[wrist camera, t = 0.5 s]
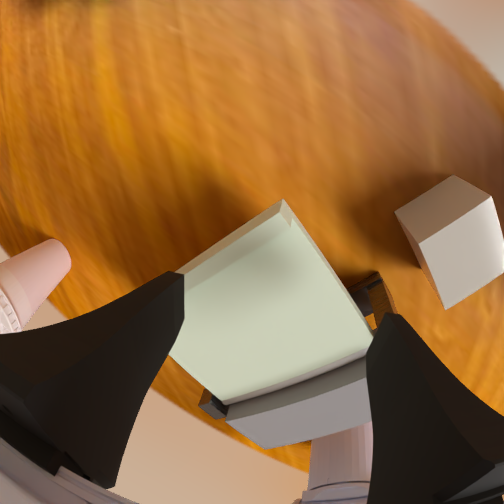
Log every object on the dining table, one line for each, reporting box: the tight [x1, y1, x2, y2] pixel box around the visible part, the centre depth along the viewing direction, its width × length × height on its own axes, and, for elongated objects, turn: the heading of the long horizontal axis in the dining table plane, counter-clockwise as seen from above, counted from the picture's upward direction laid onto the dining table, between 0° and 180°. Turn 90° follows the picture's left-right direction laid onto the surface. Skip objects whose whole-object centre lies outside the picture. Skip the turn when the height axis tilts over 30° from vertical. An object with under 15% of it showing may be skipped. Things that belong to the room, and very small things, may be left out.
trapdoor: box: [169, 199, 377, 449], centre depth 18 cm, size 16×12×4 cm
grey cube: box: [394, 175, 504, 310], centre depth 15 cm, size 5×5×5 cm
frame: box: [198, 272, 398, 419], centre depth 20 cm, size 2×15×6 cm, turn 127°
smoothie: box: [0, 239, 71, 334], centre depth 18 cm, size 6×6×14 cm
